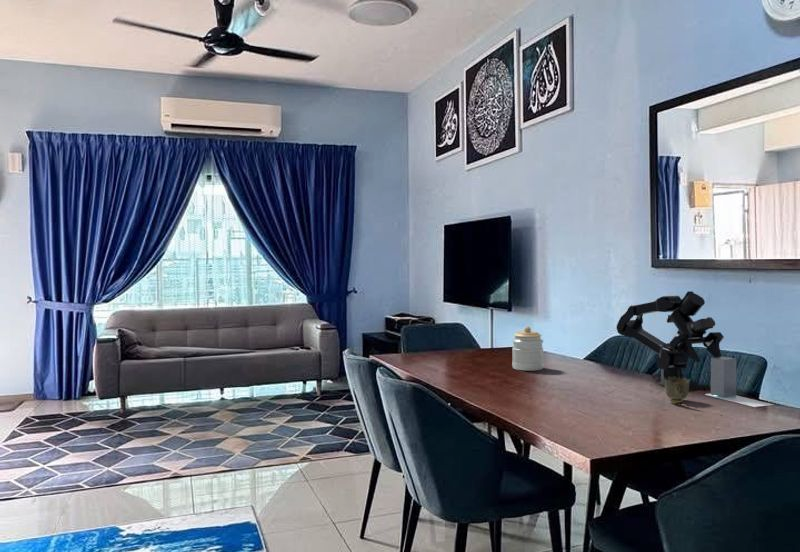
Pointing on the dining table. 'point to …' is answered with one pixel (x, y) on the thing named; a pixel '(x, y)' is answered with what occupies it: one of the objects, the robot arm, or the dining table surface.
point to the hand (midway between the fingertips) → (710, 360)
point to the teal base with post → (724, 397)
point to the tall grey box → (723, 376)
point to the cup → (676, 389)
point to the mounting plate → (745, 401)
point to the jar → (527, 351)
